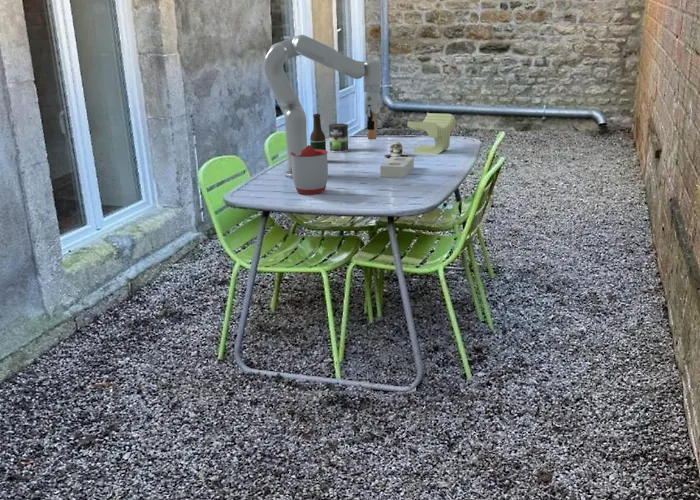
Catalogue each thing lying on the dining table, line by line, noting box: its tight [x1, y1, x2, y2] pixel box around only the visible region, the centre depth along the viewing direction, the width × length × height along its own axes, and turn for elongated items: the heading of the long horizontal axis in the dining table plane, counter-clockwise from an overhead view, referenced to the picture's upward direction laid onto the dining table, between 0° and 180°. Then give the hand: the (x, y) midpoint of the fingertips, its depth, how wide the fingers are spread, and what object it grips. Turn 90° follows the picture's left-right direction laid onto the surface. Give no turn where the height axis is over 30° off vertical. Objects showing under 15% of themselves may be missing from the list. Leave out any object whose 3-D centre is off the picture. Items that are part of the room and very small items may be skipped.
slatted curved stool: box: [407, 112, 456, 155], centre depth 380 cm, size 30×16×18 cm, turn 154°
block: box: [379, 156, 415, 179], centre depth 337 cm, size 22×11×5 cm, turn 164°
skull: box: [384, 141, 409, 158], centre depth 373 cm, size 12×10×10 cm
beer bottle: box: [309, 113, 327, 151], centre depth 363 cm, size 8×8×24 cm
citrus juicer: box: [291, 144, 329, 196], centre depth 305 cm, size 16×17×20 cm
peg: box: [367, 113, 377, 141], centre depth 336 cm, size 4×4×14 cm
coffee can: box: [328, 123, 349, 154], centre depth 390 cm, size 10×10×14 cm
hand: (372, 128), depth 337 cm, fingers closed on peg, 4 cm apart
